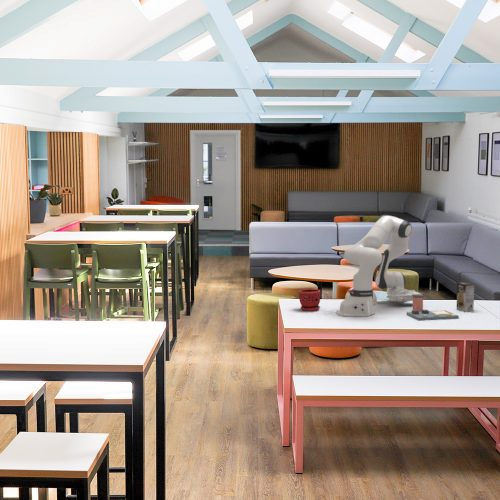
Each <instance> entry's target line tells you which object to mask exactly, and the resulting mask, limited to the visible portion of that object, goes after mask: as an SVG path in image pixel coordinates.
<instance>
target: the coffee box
mask: <svg viewBox="0 0 500 500" xmlns="http://www.w3.org/2000/svg"><path fill="white" fill-rule="evenodd" d="M474 302H475V284H474V283H470V282H466V281H465V282H463V281H462V282H459V281H458V282H457V283H456V310H458V311H462V312H464V313H465V312H474Z"/></svg>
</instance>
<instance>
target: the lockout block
mask: <svg viewBox="0 0 500 500" xmlns="http://www.w3.org/2000/svg"><path fill="white" fill-rule="evenodd" d="M421 294H422V293H420V294H412V297H413V301H412V310H417V311H419V312H422V310H424V297H425V296H424V295H423V294H422V295H421Z"/></svg>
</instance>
